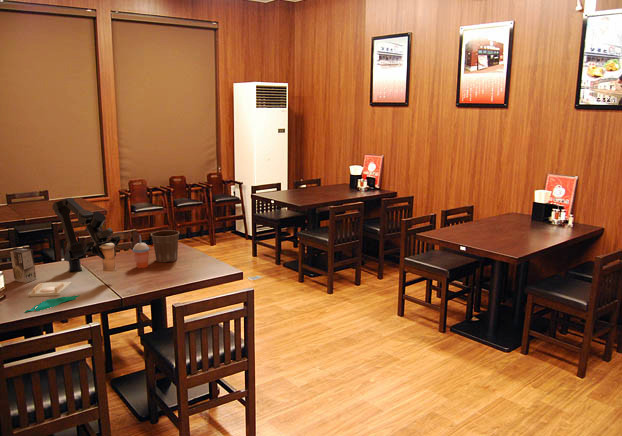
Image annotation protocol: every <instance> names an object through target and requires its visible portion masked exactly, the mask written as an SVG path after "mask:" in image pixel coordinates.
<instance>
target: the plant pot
mask: <svg viewBox="0 0 622 436" xmlns="http://www.w3.org/2000/svg"><path fill="white" fill-rule="evenodd" d="M179 236H180V231H178V230H174V229H173V230H170V229H168V230H158V231H157V230H156V231H154V232H152V233H150V237H151V240H152V243H153V247H154V248H153V250H154V254H155V261H156V262H158V263H168V262H170V263H171V262H176V261H178V253H179V252H178V249H179V238H180V237H179Z"/></svg>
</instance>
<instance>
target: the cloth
mask: <svg viewBox="0 0 622 436" xmlns="http://www.w3.org/2000/svg"><path fill="white" fill-rule="evenodd" d="M79 297H80V295H73V296H61V297H57V298H49V299H45V300H43V301H41V302H42V303H41V302H40V303H38V304H36V305H35V306H33V307H32V308H30V309H27V310H25V311H24V312H23V313H25V312H26V313H28V312H35V311H34V310H36V311H37V312H40V310H41V311H44V309H45V310H48V309H47V308H49V309H51V308H50V307H52V308H55V307H57V305H58V306H59V305H60V304H63V303H65V302H69V301H70V302H71V301H73V300H77V298H79ZM36 306H38V307H37V308H36V309H35V307H36ZM54 306H55V307H54ZM26 313H25V314H26Z"/></svg>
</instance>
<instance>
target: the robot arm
mask: <svg viewBox="0 0 622 436" xmlns="http://www.w3.org/2000/svg"><path fill="white" fill-rule="evenodd" d="M51 206H52V209H53V212H54V214H55V215H56V216H57V217H58V218H59V219H60V222H61V226H62V230H63V232H64V236H65V240H66V242H67V244H66V248H65V250H66V251H65V253H64V255H63V259H64V261H66V262H68V266H69V268H68V273H75V272H82V271H83V269H82V266H81V260H82V259H84V258H85V254H86V253H89V254H93V255H95V256H97V257H99V258H101V259H102V260H103V259H105V257H104V255H103V253H102V249H101V245H102V244H106V243H113V244H115V247H114V253H115V257H116V256H117V252H116V247H117V246H118V245H119V244H120V242H121V241H122V238H121V237H120V236H119V235H114V236H111V235H112V234H113V233H114V230H113V229H112V228H111V227H109V228H106V229H105V230H101V227H102V226H103V225H104V223H105V220H106V216H105V214H103V213H102V212H99V210H96V211H94V212H93V211H92V210H88V209H84V208H83V207H82V206H81V205H80V204H79V203H78V202H77V201H76V200H75V199H74V197H67V198H62V199H61V200H57V201H54V202H53V204H52V205H51ZM71 212H72V213H73V214H74V215H75V216H77V221H78V223H80V224H81V225H86V226H85V229H84V232H85V233H87V232H88V234H89V236H90V240H91V241H88V242H85V244H84V245H83V243H82V242H80V241H78V239H77V236H76V232H75V229H74V226H73V223H72V219H71V216H70V215H71ZM109 237H111V238H110V240H109Z"/></svg>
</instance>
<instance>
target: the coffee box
mask: <svg viewBox="0 0 622 436" xmlns="http://www.w3.org/2000/svg"><path fill="white" fill-rule="evenodd" d="M33 250H34V249H29V248H23V247H20V248H17V249H14V250H11V251H9V252H10V259H11V265H12V273H13V280H14V281H15V282H20V283H25V284H26V283H29V282H32V281H35V280H36V281H37V276H36V275H37V273H36V265H35V258H34V251H33Z"/></svg>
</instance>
